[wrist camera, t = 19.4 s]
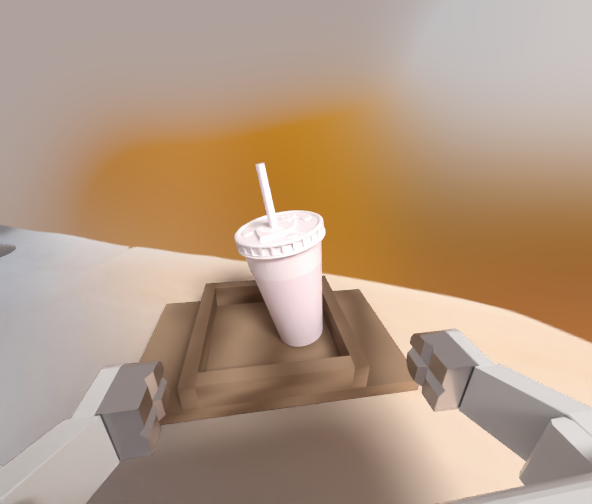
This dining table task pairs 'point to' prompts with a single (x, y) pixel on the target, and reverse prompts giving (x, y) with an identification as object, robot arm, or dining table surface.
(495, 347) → the dining table surface
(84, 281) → the dining table surface
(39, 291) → the dining table surface
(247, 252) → the smoothie
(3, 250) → the wine glass
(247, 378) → the tray
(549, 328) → the dining table surface
